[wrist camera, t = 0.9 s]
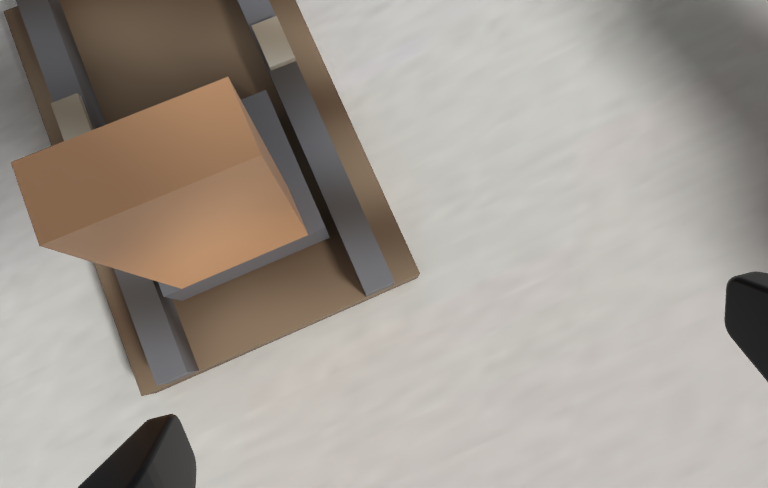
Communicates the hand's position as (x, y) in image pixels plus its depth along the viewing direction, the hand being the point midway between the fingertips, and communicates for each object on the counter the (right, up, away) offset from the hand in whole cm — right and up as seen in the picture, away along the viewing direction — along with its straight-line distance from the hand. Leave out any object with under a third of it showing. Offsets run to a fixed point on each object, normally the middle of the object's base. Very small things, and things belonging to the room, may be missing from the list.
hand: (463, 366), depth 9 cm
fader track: (-9, +6, +17) cm, 20 cm away
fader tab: (-8, +4, +14) cm, 17 cm away
